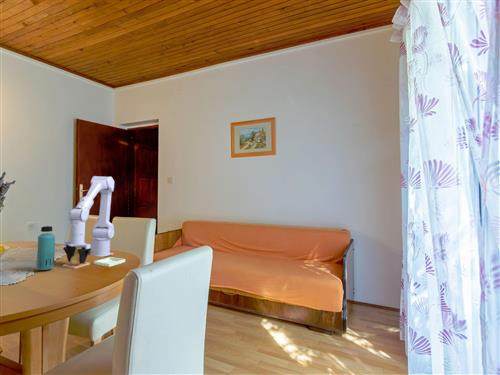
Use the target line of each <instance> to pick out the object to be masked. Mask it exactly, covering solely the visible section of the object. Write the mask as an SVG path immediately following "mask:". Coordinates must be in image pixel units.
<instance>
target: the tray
mask: <svg viewBox="0 0 500 375" xmlns="http://www.w3.org/2000/svg"><path fill="white" fill-rule="evenodd" d="M123 263H126V259H125V258H119V257H113V256H107V257H105V258H104V257H103V258H102V259H98V260H94V261H93V265H97V266H101V267H102V266H103V267H108V268H110V267H113V266H116V265H120V264H123Z"/></svg>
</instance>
